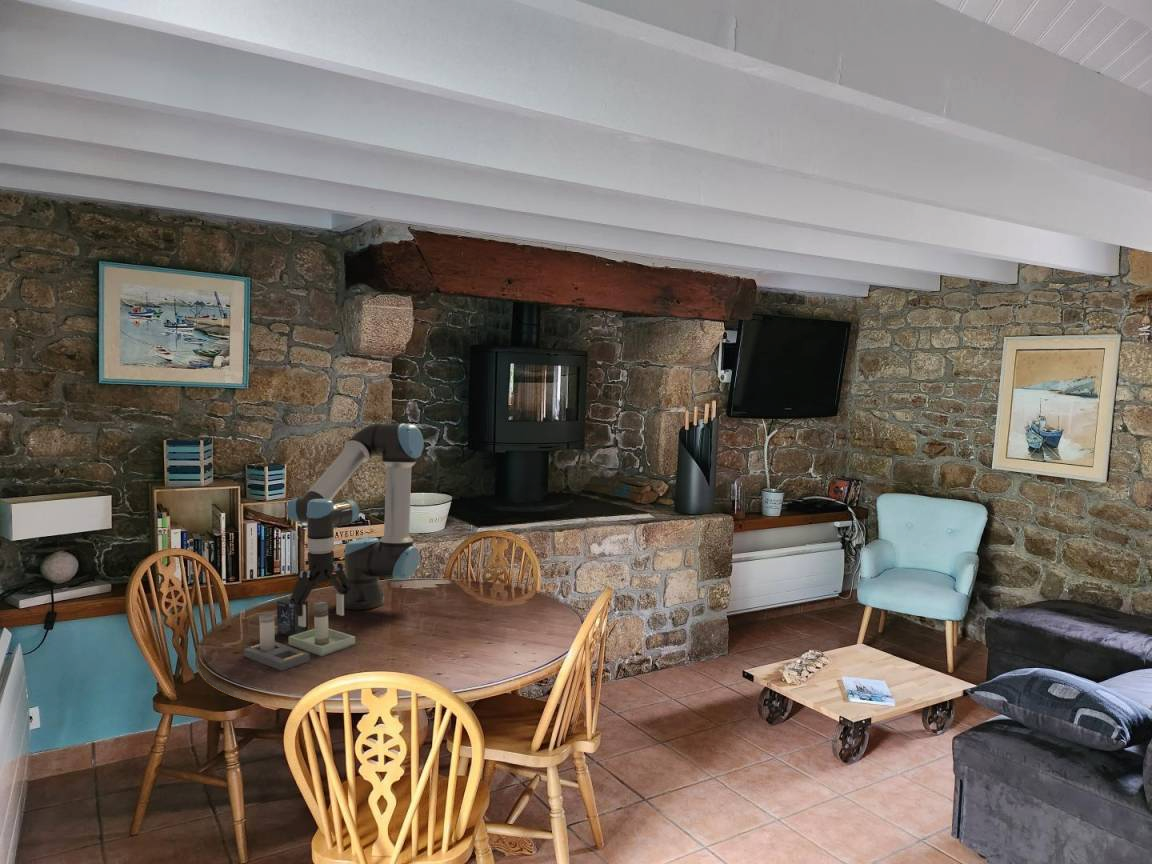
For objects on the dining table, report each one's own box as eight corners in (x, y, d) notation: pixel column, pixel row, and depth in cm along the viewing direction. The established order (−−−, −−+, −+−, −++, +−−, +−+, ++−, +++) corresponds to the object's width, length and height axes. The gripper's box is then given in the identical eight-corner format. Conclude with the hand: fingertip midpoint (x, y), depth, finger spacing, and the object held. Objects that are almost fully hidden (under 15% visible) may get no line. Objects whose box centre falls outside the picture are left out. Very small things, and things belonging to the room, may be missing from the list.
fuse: (269, 651, 228) (269, 611, 227) (278, 654, 225) (277, 614, 224) (256, 655, 224) (256, 615, 224) (265, 659, 222) (264, 618, 221)
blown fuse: (323, 639, 237) (322, 600, 236) (332, 642, 235) (331, 603, 234) (311, 643, 234) (310, 604, 233) (320, 646, 231) (319, 606, 230)
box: (276, 633, 244) (276, 600, 243) (291, 628, 249) (291, 596, 248) (294, 638, 240) (293, 604, 239) (308, 633, 245) (308, 600, 244)
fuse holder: (244, 656, 224) (244, 648, 224) (272, 647, 231) (272, 639, 231) (281, 670, 213) (281, 661, 213) (309, 661, 221) (309, 652, 221)
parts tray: (288, 644, 234) (288, 636, 234) (322, 634, 244) (321, 626, 244) (321, 656, 225) (321, 647, 225) (355, 644, 235) (355, 636, 234)
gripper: (346, 542, 245) (347, 608, 246) (276, 556, 224) (277, 628, 226) (362, 545, 240) (362, 612, 242) (291, 560, 220) (293, 633, 221)
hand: (321, 620), depth 234 cm, fingers open, 13 cm apart
